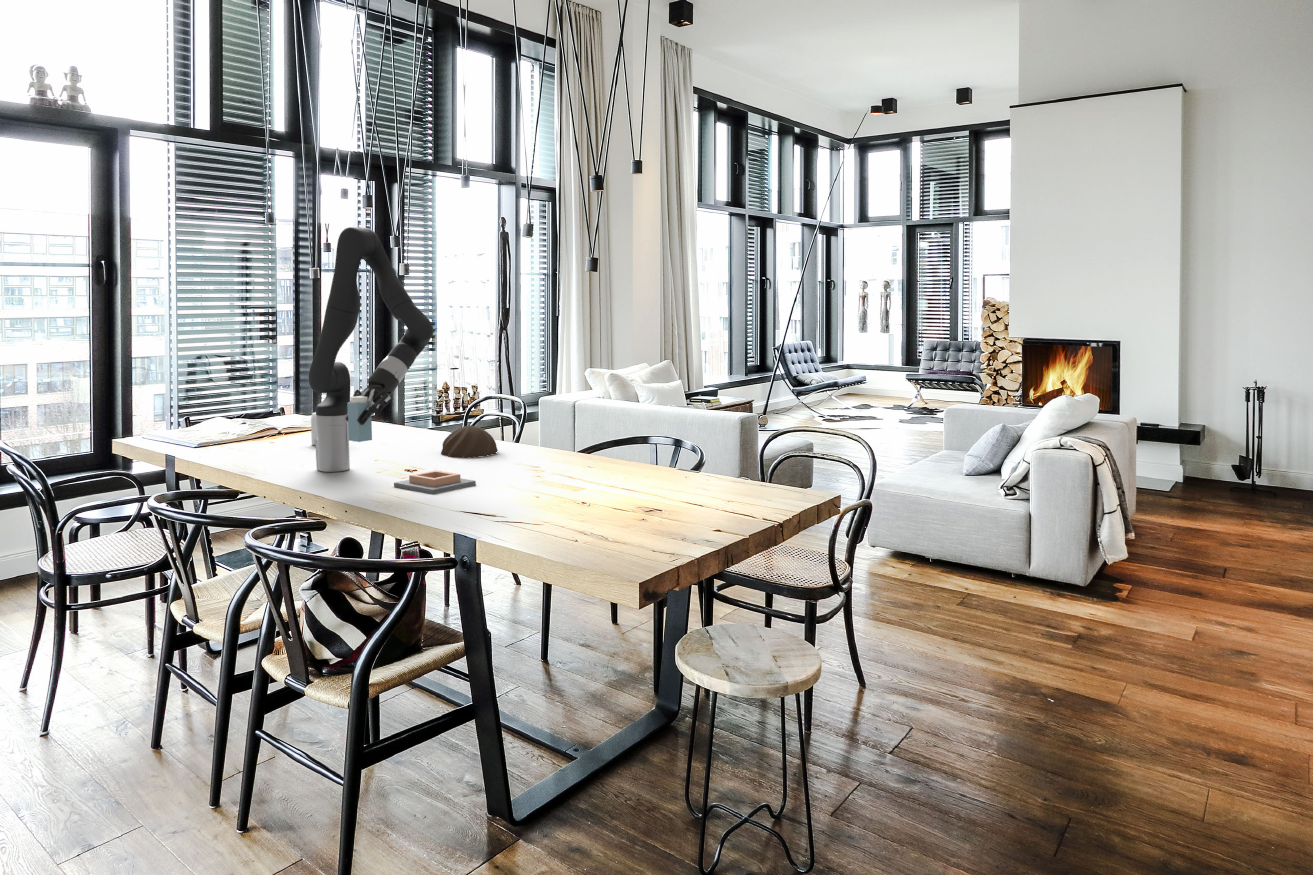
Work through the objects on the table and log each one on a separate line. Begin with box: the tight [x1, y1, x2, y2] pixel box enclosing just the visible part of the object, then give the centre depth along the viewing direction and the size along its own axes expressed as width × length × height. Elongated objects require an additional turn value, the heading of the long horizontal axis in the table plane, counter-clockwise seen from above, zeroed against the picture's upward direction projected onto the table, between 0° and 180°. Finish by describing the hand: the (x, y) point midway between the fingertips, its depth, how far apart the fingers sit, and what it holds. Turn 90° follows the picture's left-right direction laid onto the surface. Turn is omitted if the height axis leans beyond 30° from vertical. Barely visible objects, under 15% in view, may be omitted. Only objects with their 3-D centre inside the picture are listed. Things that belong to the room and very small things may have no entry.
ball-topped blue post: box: [347, 396, 373, 443], centre depth 247 cm, size 4×4×12 cm
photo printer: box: [310, 411, 317, 446], centre depth 326 cm, size 10×4×12 cm, turn 123°
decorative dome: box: [440, 425, 499, 459], centre depth 311 cm, size 19×20×10 cm
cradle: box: [393, 469, 477, 495], centre depth 255 cm, size 16×16×3 cm
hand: (354, 421), depth 246 cm, fingers closed on ball-topped blue post, 4 cm apart
